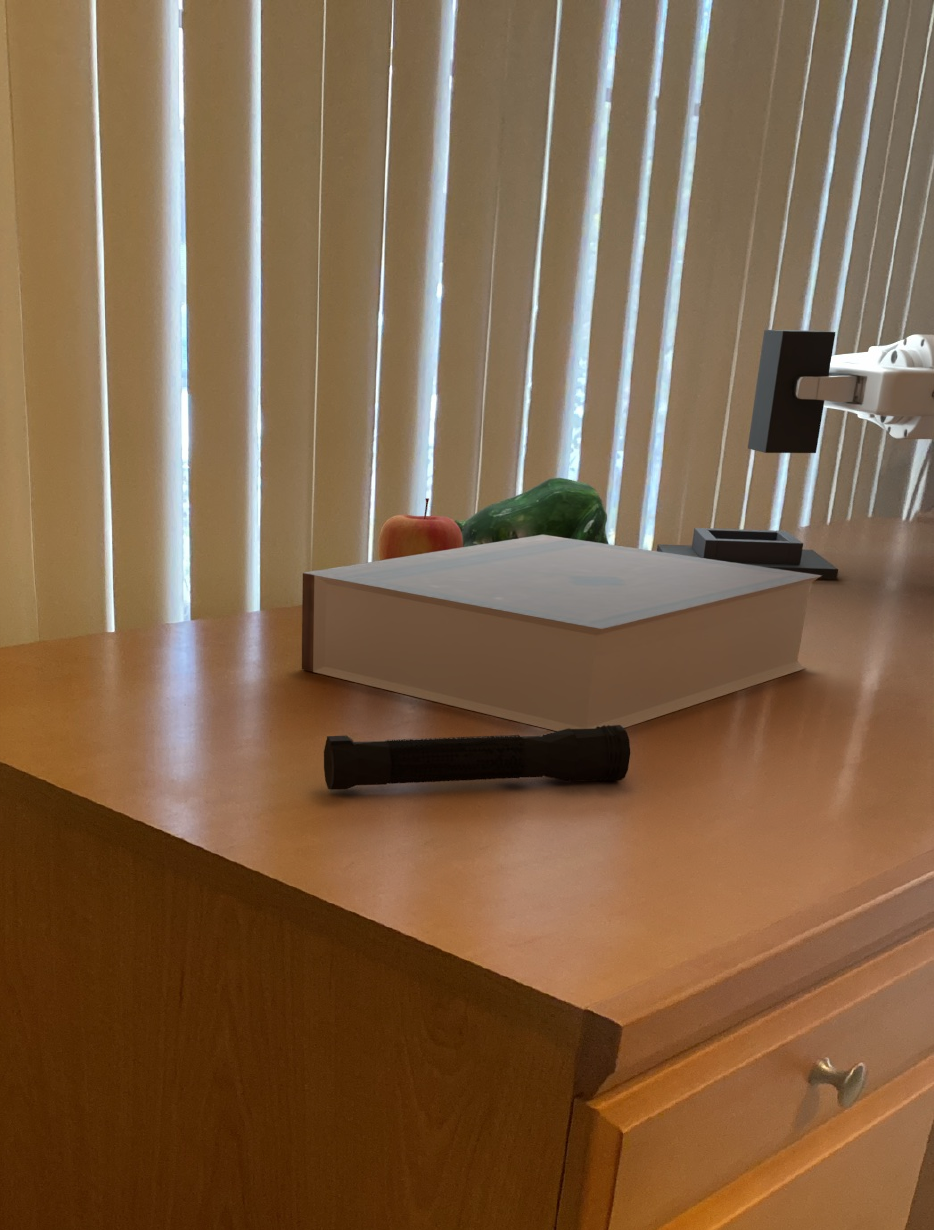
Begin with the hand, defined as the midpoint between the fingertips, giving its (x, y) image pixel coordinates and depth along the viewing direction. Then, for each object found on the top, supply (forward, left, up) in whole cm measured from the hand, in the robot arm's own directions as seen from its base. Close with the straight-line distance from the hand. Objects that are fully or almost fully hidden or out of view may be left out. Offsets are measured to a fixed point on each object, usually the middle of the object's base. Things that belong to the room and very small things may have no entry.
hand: (782, 385), depth 132 cm
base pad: (0, -7, -17) cm, 18 cm away
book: (+21, +42, -17) cm, 50 cm away
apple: (+32, +16, -17) cm, 40 cm away
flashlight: (+27, +71, -17) cm, 78 cm away
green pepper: (+22, +4, -17) cm, 28 cm away
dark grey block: (-1, 0, -5) cm, 6 cm away
